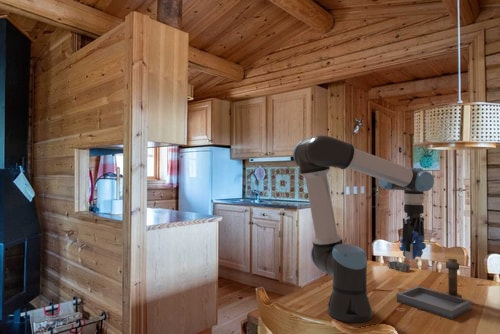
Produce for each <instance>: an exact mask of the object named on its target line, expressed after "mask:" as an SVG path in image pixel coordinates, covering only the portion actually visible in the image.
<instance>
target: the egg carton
mask: <svg viewBox="0 0 500 334" xmlns="http://www.w3.org/2000/svg"><path fill="white" fill-rule="evenodd" d="M386 262H387V268H388V267H389V268H388V269H392V268H393V270H395V271H399V272H401V273H402V272H404V273H406V272H409V271H410V270H411V268H410V267H411V263H406V262H401V261H399V260H393V261H391V260H386Z"/></svg>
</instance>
